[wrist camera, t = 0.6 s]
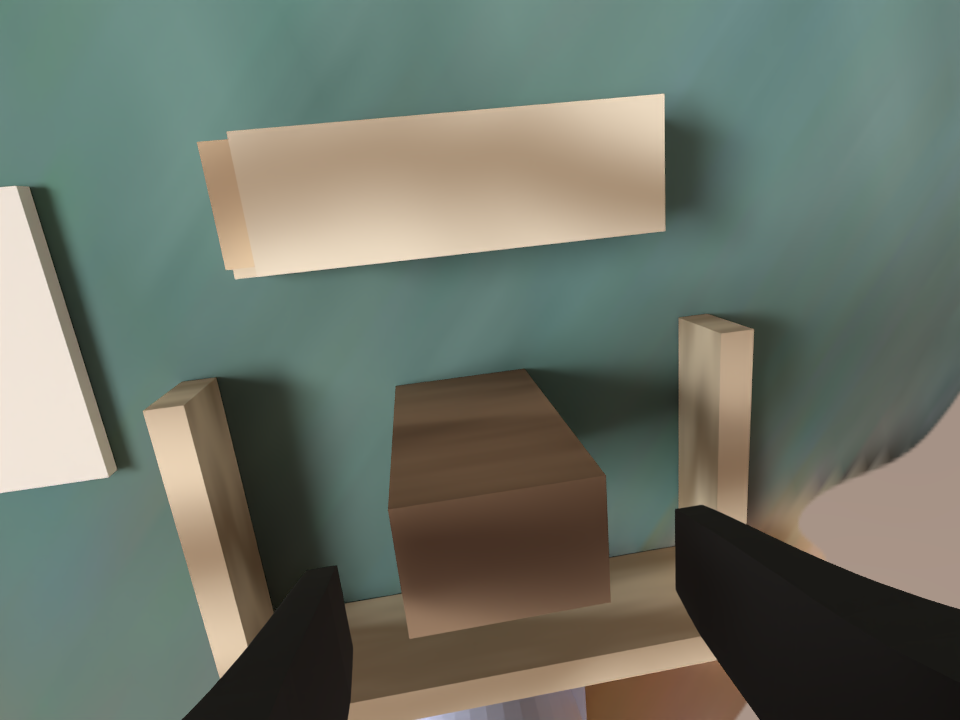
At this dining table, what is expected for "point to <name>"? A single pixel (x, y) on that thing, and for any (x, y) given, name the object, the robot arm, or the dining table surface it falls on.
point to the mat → (41, 365)
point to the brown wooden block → (492, 505)
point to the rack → (490, 648)
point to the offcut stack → (436, 184)
